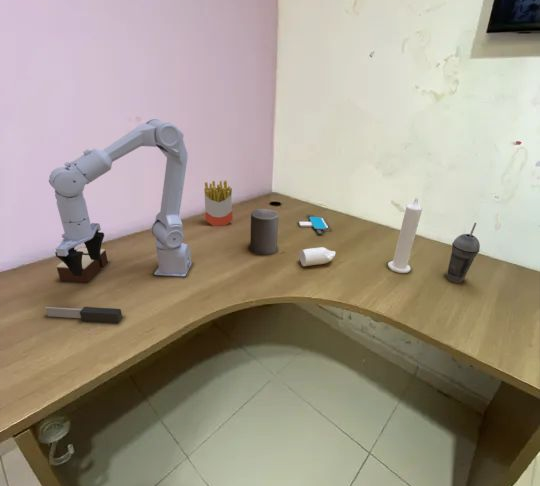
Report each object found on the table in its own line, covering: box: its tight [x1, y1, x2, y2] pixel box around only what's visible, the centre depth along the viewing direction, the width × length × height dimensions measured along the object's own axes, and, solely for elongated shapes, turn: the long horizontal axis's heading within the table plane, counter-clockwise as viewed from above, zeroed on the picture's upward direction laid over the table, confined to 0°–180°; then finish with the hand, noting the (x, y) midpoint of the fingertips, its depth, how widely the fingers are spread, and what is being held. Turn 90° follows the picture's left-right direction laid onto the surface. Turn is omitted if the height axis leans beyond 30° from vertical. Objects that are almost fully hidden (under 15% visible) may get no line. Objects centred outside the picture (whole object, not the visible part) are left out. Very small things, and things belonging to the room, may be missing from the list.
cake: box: [55, 255, 102, 284], centre depth 91 cm, size 8×7×5 cm
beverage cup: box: [446, 222, 481, 284], centre depth 95 cm, size 7×7×20 cm
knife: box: [44, 306, 123, 324], centre depth 75 cm, size 18×2×3 cm, turn 88°
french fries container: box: [204, 180, 233, 227], centre depth 127 cm, size 5×11×18 cm, turn 101°
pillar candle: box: [249, 208, 280, 256], centre depth 109 cm, size 10×10×15 cm
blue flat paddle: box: [298, 214, 331, 236], centre depth 133 cm, size 20×12×2 cm, turn 5°
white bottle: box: [298, 246, 336, 267], centre depth 103 cm, size 6×12×6 cm, turn 105°
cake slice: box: [76, 247, 109, 269], centre depth 97 cm, size 8×3×5 cm, turn 88°
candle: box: [387, 196, 423, 274], centre depth 98 cm, size 7×7×25 cm
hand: (87, 266), depth 80 cm, fingers open, 7 cm apart
